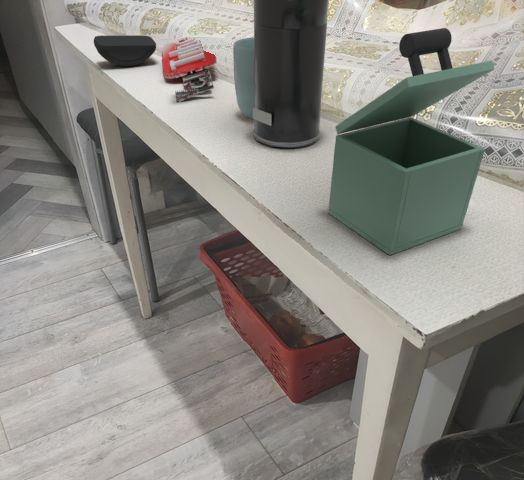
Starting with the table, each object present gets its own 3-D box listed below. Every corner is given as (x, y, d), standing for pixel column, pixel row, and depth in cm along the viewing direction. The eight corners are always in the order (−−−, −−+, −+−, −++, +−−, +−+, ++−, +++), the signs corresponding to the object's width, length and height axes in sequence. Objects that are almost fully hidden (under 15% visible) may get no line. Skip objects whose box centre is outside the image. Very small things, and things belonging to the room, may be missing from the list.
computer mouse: (97, 45, 96) (100, 69, 99) (157, 45, 99) (158, 68, 102) (91, 35, 100) (94, 58, 102) (149, 35, 103) (150, 57, 106)
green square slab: (494, 69, 46) (481, 13, 45) (409, 87, 42) (393, 26, 41) (412, 116, 56) (400, 70, 55) (337, 134, 52) (323, 85, 51)
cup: (254, 105, 85) (253, 34, 78) (295, 113, 81) (297, 41, 75) (226, 118, 80) (222, 44, 73) (268, 127, 77) (268, 51, 70)
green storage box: (461, 228, 55) (485, 148, 49) (389, 255, 51) (406, 172, 46) (396, 191, 62) (410, 117, 56) (328, 213, 58) (335, 135, 52)
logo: (222, 77, 84) (164, 95, 84) (225, 87, 85) (168, 106, 86) (207, 27, 100) (158, 43, 101) (210, 37, 102) (161, 53, 102)
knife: (184, 54, 100) (210, 51, 99) (186, 67, 101) (212, 63, 101) (178, 84, 88) (207, 80, 88) (181, 97, 89) (209, 94, 89)
